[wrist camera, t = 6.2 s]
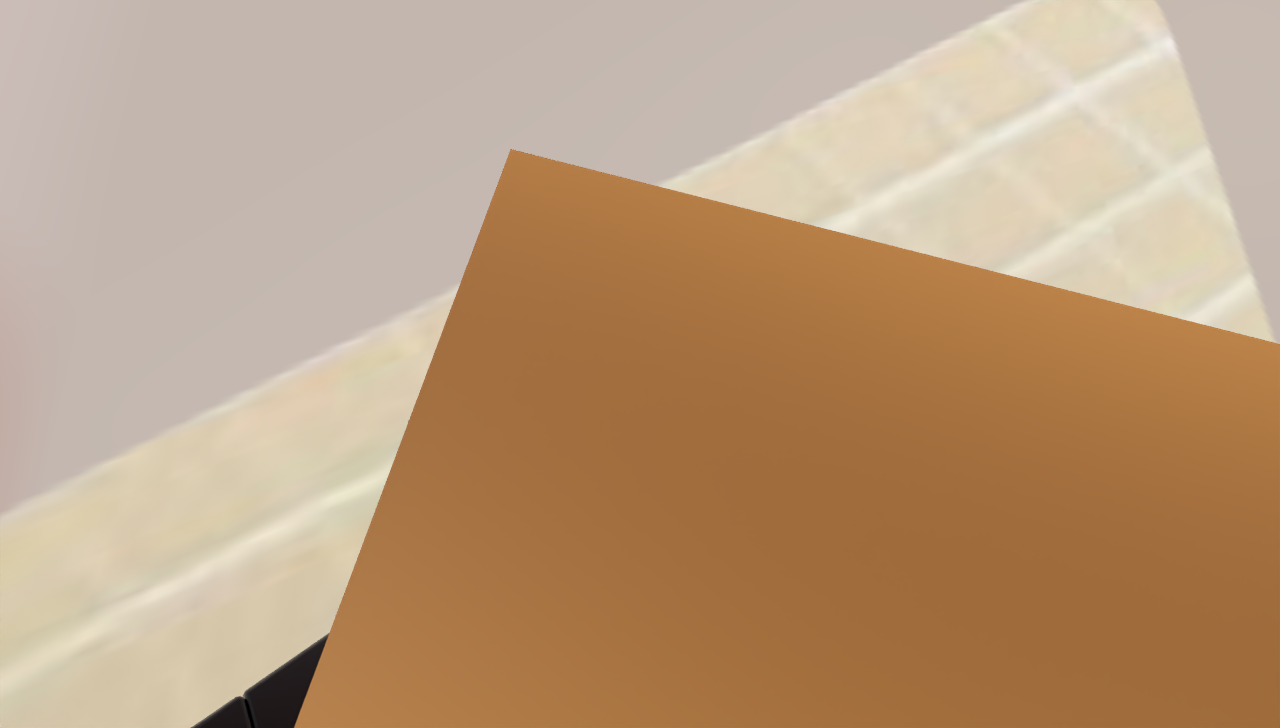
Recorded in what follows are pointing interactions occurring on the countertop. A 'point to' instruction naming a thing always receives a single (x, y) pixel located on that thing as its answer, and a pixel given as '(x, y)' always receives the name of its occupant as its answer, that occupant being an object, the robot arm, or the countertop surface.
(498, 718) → the walnut pin
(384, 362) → the countertop surface
